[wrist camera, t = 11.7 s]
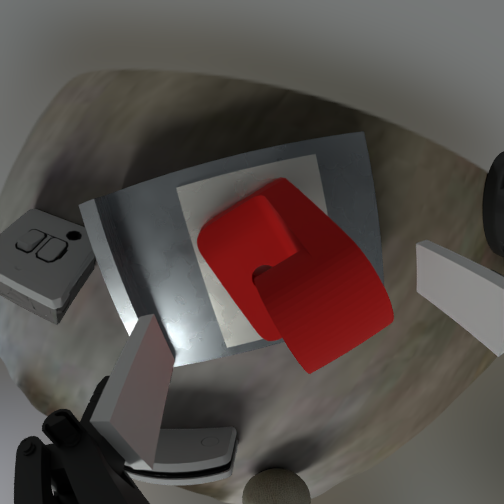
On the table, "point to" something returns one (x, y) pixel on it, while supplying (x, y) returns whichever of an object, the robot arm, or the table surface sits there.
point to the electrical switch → (44, 263)
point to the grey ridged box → (200, 212)
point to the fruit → (276, 488)
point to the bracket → (296, 274)
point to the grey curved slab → (190, 457)
